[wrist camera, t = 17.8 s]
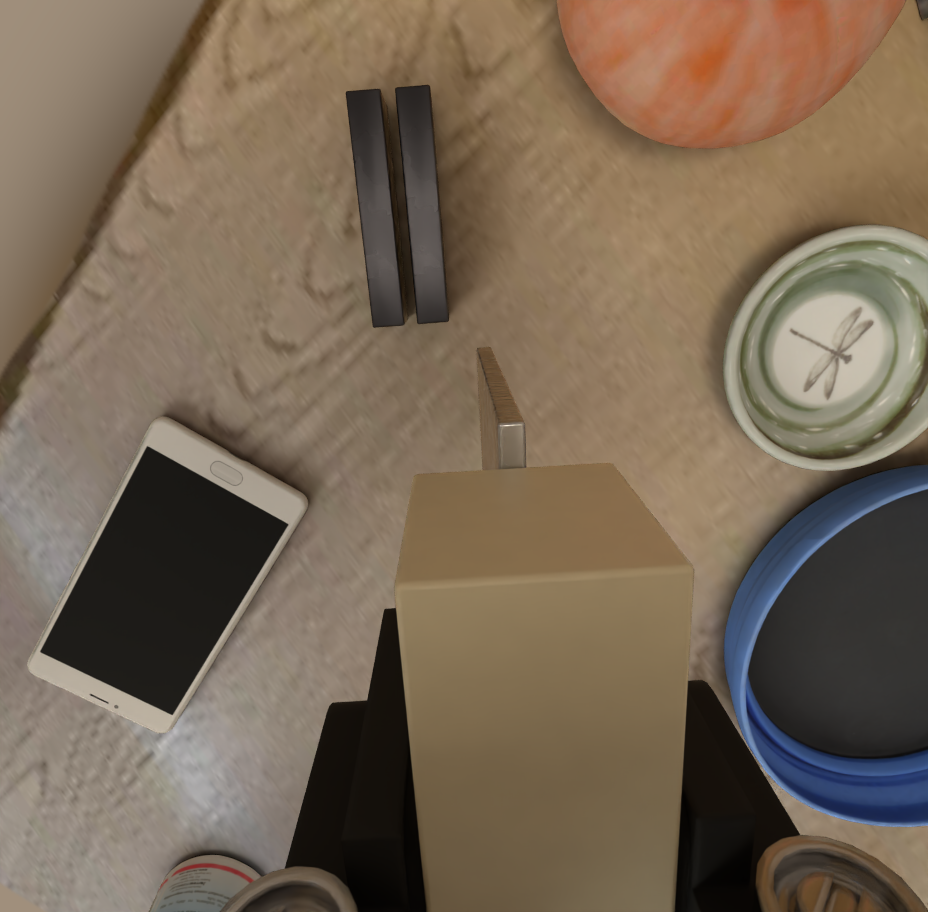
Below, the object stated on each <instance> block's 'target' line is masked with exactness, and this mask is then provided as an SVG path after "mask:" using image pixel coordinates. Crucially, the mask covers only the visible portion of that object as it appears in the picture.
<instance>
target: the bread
mask: <svg viewBox="0 0 928 912" xmlns="http://www.w3.org/2000/svg"><path fill="white" fill-rule="evenodd" d="M917 3H918V7H919V11H920V15H921V18H922V20H924V19H926V18H928V0H917Z"/></svg>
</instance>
